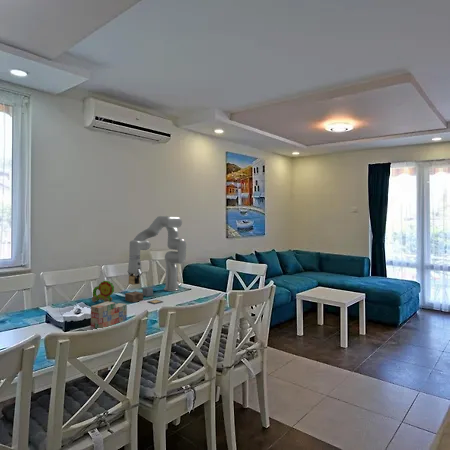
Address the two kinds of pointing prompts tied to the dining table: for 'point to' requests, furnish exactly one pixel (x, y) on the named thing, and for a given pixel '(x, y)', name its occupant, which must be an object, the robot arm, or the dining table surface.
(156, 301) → the mat
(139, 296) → the walnut block
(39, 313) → the dining table surface
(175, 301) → the dining table surface
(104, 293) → the toy lion
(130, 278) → the honey cube
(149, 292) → the grey cube
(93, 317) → the stack of blocks
